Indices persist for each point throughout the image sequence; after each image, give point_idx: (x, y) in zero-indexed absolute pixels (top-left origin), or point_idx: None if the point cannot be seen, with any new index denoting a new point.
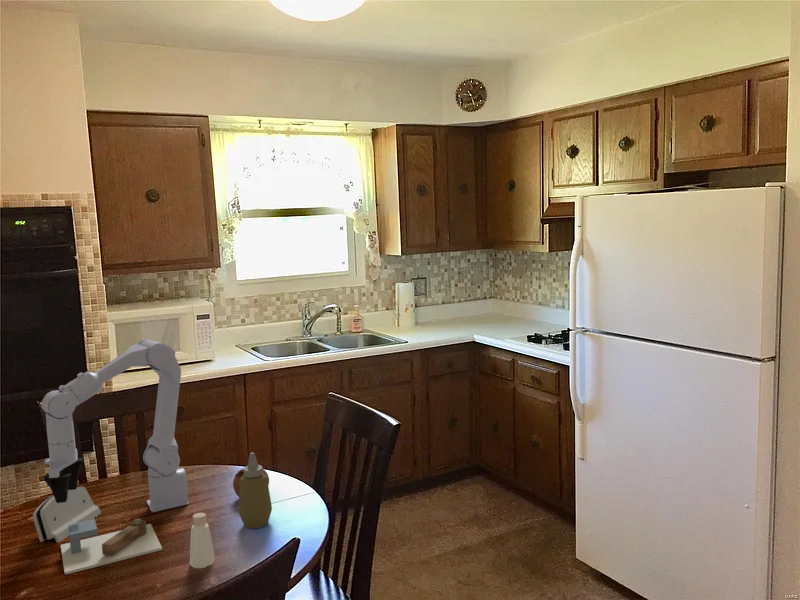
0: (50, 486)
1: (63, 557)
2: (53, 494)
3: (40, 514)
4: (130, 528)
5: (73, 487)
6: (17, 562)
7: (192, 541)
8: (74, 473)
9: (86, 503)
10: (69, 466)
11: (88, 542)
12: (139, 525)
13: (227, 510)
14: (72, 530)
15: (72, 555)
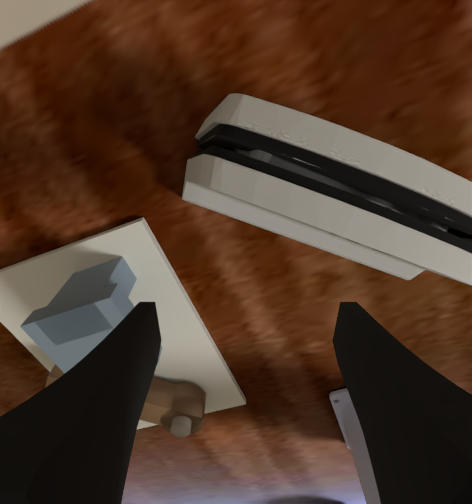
0: (39, 399)
1: (50, 257)
2: (103, 339)
3: (201, 155)
4: (148, 414)
5: (338, 341)
6: (25, 92)
7: None
8: (372, 440)
9: (410, 263)
10: (414, 495)
11: (151, 297)
12: (166, 426)
13: (284, 491)
14: (57, 325)
15: (65, 277)
